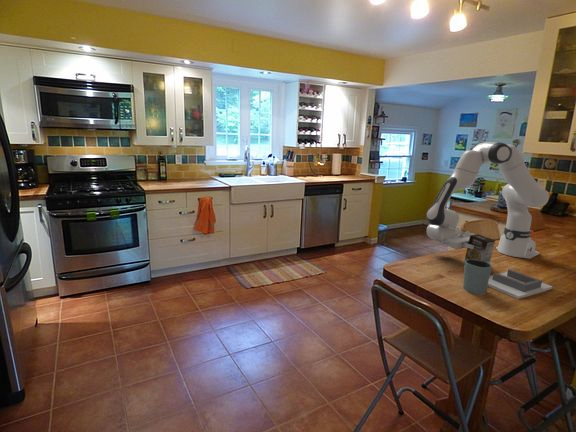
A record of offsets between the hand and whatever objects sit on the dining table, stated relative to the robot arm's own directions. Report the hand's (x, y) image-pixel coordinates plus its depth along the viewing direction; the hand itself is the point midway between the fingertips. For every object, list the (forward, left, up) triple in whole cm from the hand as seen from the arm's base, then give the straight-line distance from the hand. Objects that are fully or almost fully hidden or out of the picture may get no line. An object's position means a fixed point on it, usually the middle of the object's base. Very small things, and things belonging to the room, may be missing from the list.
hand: (479, 246), depth 165 cm
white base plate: (+1, +19, -12) cm, 22 cm away
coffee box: (0, 0, -12) cm, 12 cm away
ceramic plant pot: (+22, +15, -12) cm, 29 cm away
